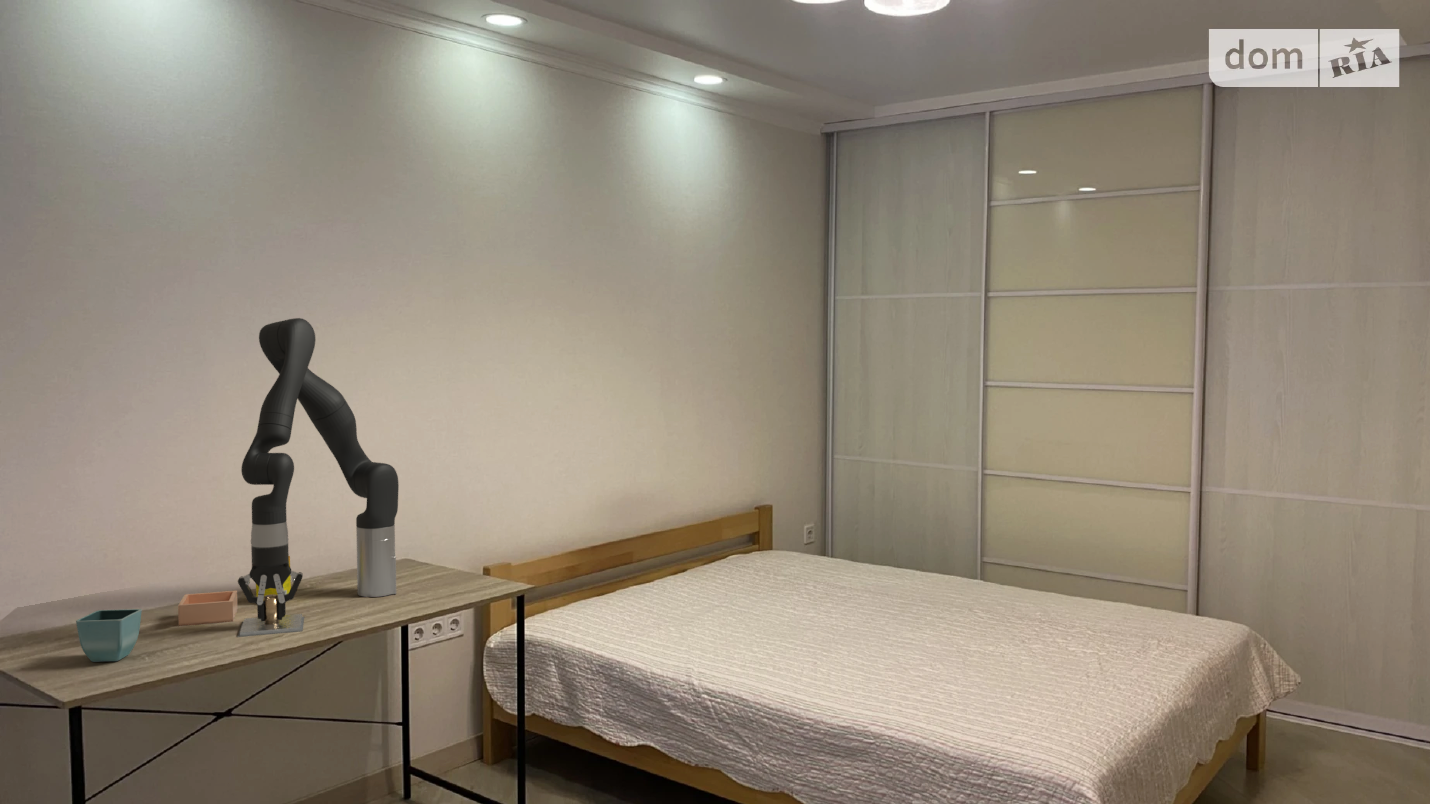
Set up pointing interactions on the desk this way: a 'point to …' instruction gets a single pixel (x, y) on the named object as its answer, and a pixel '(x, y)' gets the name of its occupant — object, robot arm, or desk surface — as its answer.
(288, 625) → the lid
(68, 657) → the desk surface
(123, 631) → the flower pot
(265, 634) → the mat
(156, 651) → the desk surface
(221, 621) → the open box
